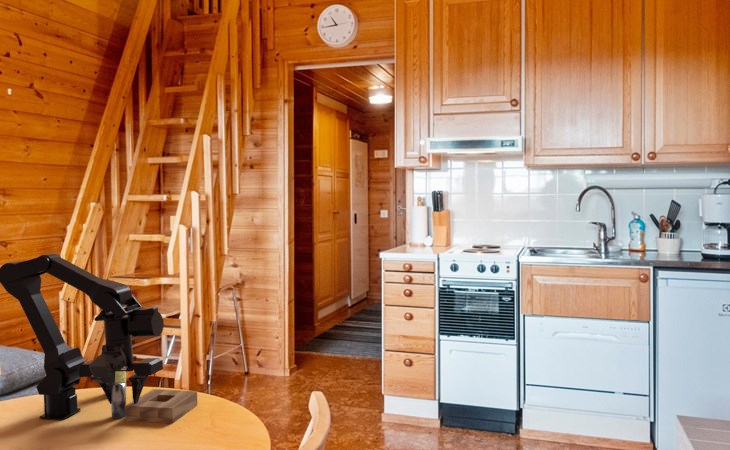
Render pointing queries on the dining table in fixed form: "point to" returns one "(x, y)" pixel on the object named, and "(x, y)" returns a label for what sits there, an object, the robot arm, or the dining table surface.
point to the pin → (118, 399)
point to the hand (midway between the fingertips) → (123, 403)
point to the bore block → (161, 406)
